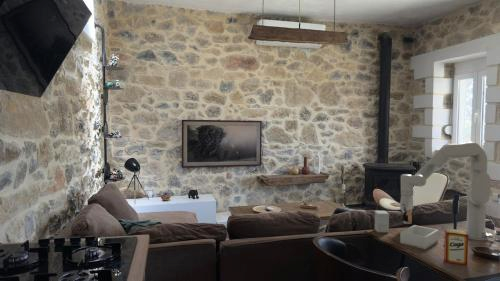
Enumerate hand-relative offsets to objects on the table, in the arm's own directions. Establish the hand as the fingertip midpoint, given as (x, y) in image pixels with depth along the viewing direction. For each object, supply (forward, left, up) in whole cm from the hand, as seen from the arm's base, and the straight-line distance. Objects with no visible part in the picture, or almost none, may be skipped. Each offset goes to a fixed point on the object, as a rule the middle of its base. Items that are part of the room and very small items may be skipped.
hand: (407, 219), depth 228 cm
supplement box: (+11, +14, -7) cm, 19 cm away
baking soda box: (-39, +35, -7) cm, 53 cm away
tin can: (0, 0, -2) cm, 2 cm away
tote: (-15, +19, -7) cm, 26 cm away
